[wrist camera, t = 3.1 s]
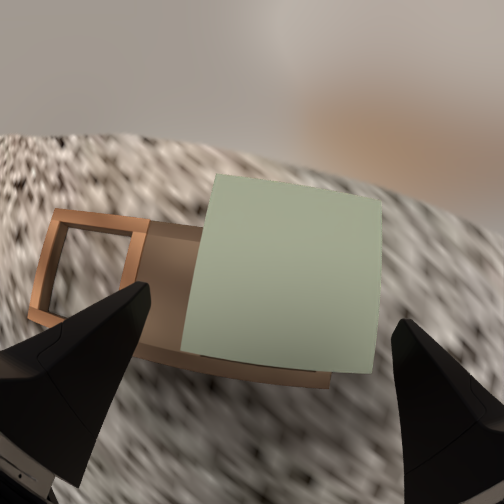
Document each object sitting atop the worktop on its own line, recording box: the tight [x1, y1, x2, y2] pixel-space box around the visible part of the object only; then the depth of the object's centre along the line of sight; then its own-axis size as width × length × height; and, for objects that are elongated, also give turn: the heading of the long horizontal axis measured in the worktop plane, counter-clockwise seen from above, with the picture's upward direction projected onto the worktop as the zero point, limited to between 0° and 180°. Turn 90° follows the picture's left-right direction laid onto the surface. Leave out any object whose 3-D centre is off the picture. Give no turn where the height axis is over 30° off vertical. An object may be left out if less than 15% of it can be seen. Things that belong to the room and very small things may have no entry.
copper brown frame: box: [28, 208, 332, 389], centre depth 18 cm, size 9×22×1 cm, turn 81°
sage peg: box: [180, 174, 382, 374], centre depth 12 cm, size 4×4×12 cm
